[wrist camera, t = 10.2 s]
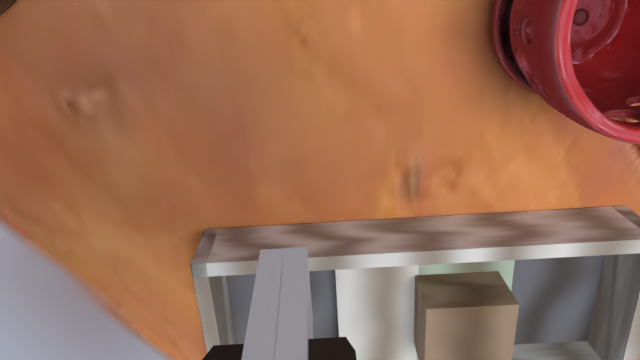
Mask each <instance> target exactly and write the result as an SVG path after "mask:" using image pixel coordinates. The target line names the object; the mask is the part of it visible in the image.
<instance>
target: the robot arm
mask: <svg viewBox="0 0 640 360" xmlns="http://www.w3.org/2000/svg"><path fill="white" fill-rule="evenodd" d="M15 1H16V0H0V14H1V13H2V12H4V11H5V10H6V9H8V8H9V7H10V6H11V5H12V4H13V3H14V2H15ZM202 360H357V359H356V351H355V349H354V348H353V346H352V345H351V343H350V342H349V341H348V339H347V338H346V337H333V338H315V339H313V314H312V301H311V288H310V275H309V262H308V248H307V247H298V248H281V249H263V250H260V255H259V260H258V266H257V272H256V278H255V283H254V289H253V295H252V301H251V307H250V312H249V318H248V324H247V330H246V336H245V341H244V344H230V345H213V347H212V348H211V349H210V350H209V352H208V353H207V354H206V356H205V357H204V358H203V359H202Z"/></svg>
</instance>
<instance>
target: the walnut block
mask: <svg viewBox="0 0 640 360" xmlns="http://www.w3.org/2000/svg"><path fill="white" fill-rule="evenodd" d="M518 310H519V304H518V302H517V300H516V299H515V297H514V295H513V294H512V292H511V291H510V289H509V287H508V286H507V284H506V283H505V281H504V279H503V278H502V276H501V275H500V273H499V271H489V272H469V273H449V274H430V275H415V301H414V340H413V341H414V344H415V348H416V352H417V356H418V359H419V360H512V356H513V348H514V340H515V333H516V325H517V317H518Z"/></svg>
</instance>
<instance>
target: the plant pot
mask: <svg viewBox="0 0 640 360" xmlns="http://www.w3.org/2000/svg"><path fill="white" fill-rule="evenodd" d="M492 33H493V41H494V46H495V50H496V53H497V56H498V58H499V60H500V62H501V64H502V66H503V67H504V69H505V70H506V72H507V73H508V74H509V75H510V77H511V78H512V79H513V80H514V81H516V82H517V83H518V84H519V85H521V86H522V87H523V88H525V89H527V90H529V91H531V92H533V93H536V94H538V95H540V96H541V97H542V98H543V99H544V100H545V101H546V102H547V103H548V104H549V105H551V106H552V107H553V108H555V109H556V110H558V111H559V112H561V113H562V114H564V115H565V116H567V117H568V118H570V119H571V120H573V121H575V122H577V123H578V124H580V125H582V126H584V127H586V128H588V129H590V130H592V131H595V132H597V133H599V134H602V135H604V136H607V137H609V138H612V139H615V140H618V141H622V142H627V143H633V144H640V105H639V106H629V105H632V104H635V103H640V0H496V2H495V6H494V12H493V21H492ZM611 118H629V119H634V120H637V121H639V122H635V123H631V122H623V121H618V120H614V119H611Z"/></svg>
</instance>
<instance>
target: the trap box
mask: <svg viewBox="0 0 640 360" xmlns="http://www.w3.org/2000/svg"><path fill="white" fill-rule="evenodd" d="M298 247H307V248H308V262H309V275H310V288H311V301H312V314H313V339H315V338H333V337H346V338H347V339H348V341H349V342H350V343H351V345H352V346H353V348H354V349H355V351H356V359H357V360H419V359H418V356H417V352H416V348H415V344H414V341H413V340H414V301H415V275H430V274H449V273H469V272H489V271H499V273H500V275H501V276H502V278H503V279H504V281H505V283H506V284H507V286H508V287H509V289H510V291H511V292H512V294H513V295H514V297H515V299H516V300H517V302H518V304H519V310H518V317H517V325H516V333H515V340H514V348H513V356H512V360H638V356H639V352H640V216H638V215H637V214H636V213H634V212H633V211H632V210H630V209H629V208H628V207H626V206H611V207H593V208H575V209H557V210H539V211H521V212H503V213H485V214H468V215H450V216H432V217H414V218H396V219H378V220H360V221H342V222H324V223H307V224H289V225H271V226H253V227H235V228H217V229H205V232H204V234H203V236H202V238H201V241H200V243H199V245H198V248H197V250H196V252H195V254H194V257H193V259H192V261H191V263H190V266H191V271H192V276H193V281H194V287H195V292H196V297H197V302H198V307H199V312H200V318H201V323H202V328H203V333H204V338H205V343H206V348H207V353H208V352H209V350H210V349H211V348H212V347H213V345H230V344H244V341H245V336H246V330H247V324H248V318H249V312H250V307H251V301H252V295H253V289H254V283H255V278H256V272H257V266H258V260H259V255H260V250H263V249H281V248H298Z"/></svg>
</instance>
